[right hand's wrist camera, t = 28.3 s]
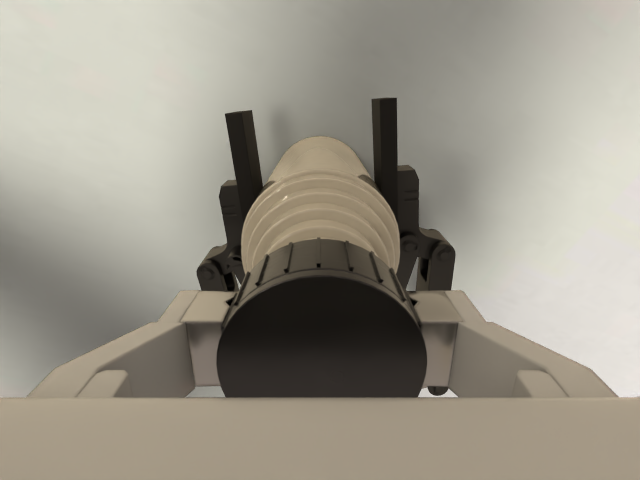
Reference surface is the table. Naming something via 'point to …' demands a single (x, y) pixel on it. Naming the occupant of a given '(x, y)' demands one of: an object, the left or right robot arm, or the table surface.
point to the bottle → (320, 204)
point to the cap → (321, 327)
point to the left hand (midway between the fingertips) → (310, 106)
